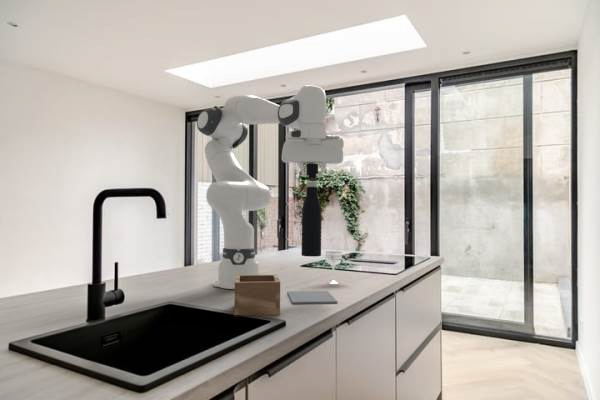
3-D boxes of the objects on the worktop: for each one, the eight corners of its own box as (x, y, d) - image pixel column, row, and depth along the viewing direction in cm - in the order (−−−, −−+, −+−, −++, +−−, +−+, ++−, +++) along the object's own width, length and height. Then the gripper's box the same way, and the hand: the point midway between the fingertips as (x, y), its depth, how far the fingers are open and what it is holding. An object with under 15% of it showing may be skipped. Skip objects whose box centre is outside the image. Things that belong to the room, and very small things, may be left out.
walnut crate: (235, 305, 124) (236, 275, 124) (276, 304, 125) (277, 274, 126) (234, 315, 112) (234, 282, 112) (279, 314, 113) (280, 282, 113)
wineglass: (321, 282, 162) (321, 252, 163) (330, 280, 168) (330, 250, 168) (336, 284, 158) (336, 253, 159) (344, 282, 164) (345, 251, 164)
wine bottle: (319, 256, 131) (320, 162, 132) (299, 256, 132) (300, 162, 133) (322, 254, 137) (323, 164, 138) (303, 254, 138) (304, 165, 139)
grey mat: (287, 293, 142) (287, 291, 142) (327, 292, 143) (327, 290, 144) (292, 304, 126) (292, 302, 126) (337, 303, 128) (337, 301, 128)
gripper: (341, 137, 140) (340, 178, 140) (281, 135, 137) (280, 176, 137) (345, 134, 134) (345, 176, 134) (283, 132, 131) (282, 175, 131)
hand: (312, 176), depth 135 cm, fingers closed on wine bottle, 4 cm apart
